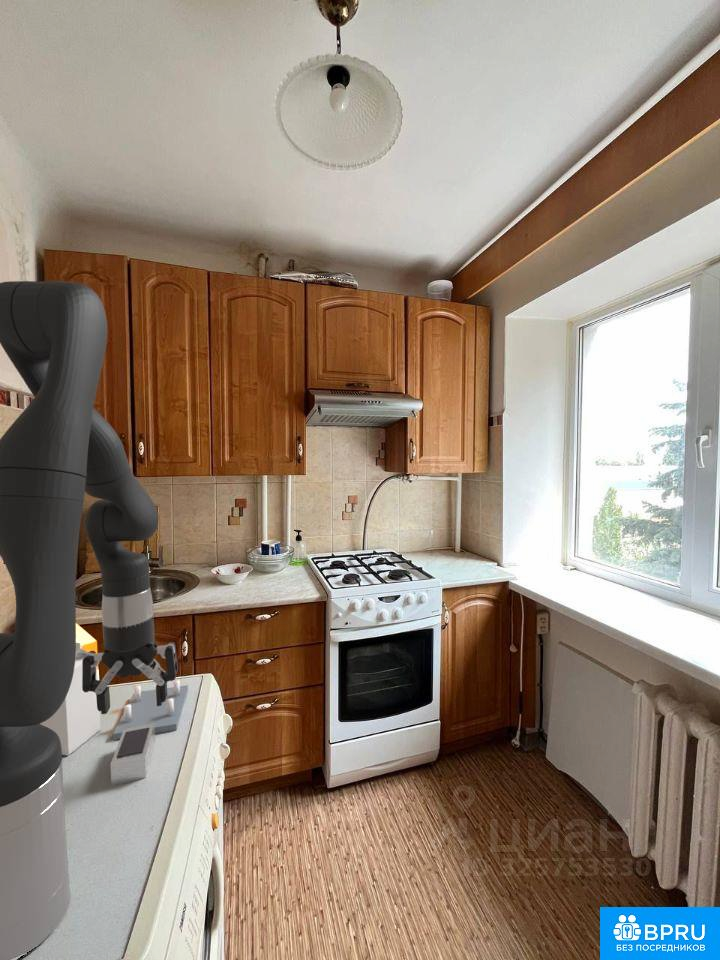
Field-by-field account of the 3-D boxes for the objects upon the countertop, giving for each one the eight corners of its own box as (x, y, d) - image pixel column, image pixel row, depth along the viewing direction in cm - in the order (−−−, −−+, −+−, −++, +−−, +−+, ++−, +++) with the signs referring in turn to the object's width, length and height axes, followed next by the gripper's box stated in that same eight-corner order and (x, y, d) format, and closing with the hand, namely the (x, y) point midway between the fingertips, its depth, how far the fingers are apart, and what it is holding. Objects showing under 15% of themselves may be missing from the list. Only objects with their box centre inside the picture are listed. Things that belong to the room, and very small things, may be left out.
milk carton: (68, 756, 73) (62, 652, 72) (35, 751, 75) (29, 648, 74) (101, 730, 80) (96, 634, 79) (70, 726, 82) (65, 631, 81)
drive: (146, 779, 68) (144, 755, 68) (111, 786, 67) (110, 763, 67) (155, 743, 77) (154, 722, 77) (124, 749, 75) (123, 728, 75)
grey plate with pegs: (176, 730, 80) (175, 709, 80) (113, 740, 77) (112, 718, 77) (188, 690, 94) (187, 672, 93) (134, 697, 91) (133, 679, 91)
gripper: (71, 630, 65) (77, 728, 66) (169, 620, 68) (174, 714, 70) (89, 612, 72) (95, 701, 73) (177, 603, 76) (181, 688, 77)
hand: (133, 707), depth 72 cm, fingers open, 8 cm apart
